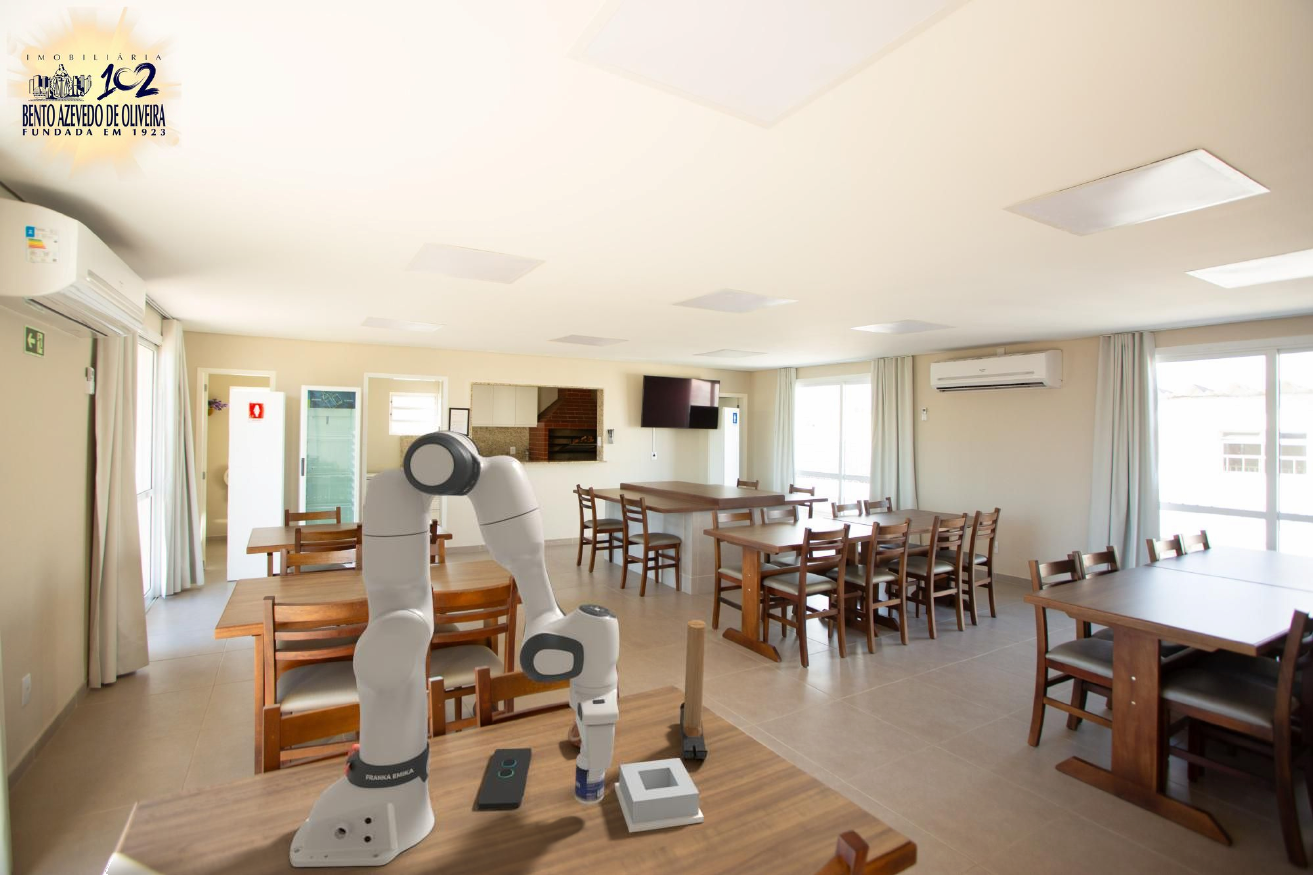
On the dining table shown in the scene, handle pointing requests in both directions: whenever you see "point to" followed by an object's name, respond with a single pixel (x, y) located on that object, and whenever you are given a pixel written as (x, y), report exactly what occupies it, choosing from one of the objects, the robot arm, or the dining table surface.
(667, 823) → the socket block
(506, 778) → the smart home device
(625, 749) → the dining table surface
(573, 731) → the fruit slice
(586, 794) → the pill bottle
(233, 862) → the dining table surface
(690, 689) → the hammer
